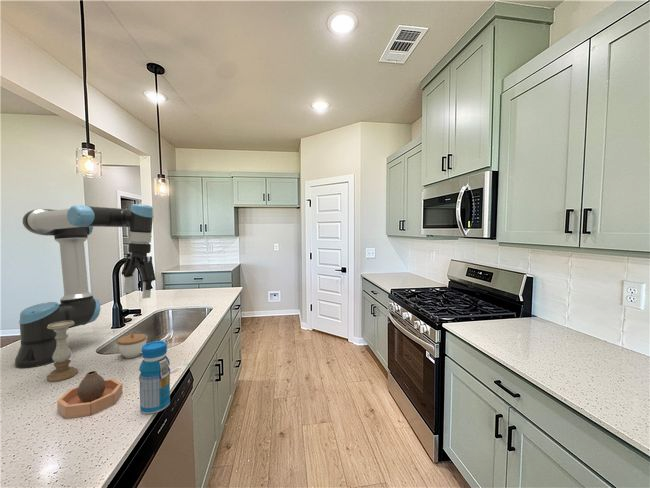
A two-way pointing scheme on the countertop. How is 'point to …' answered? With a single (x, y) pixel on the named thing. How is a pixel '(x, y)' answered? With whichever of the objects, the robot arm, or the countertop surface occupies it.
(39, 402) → the countertop surface
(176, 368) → the fork
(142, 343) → the lidded jar
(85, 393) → the vase
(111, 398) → the terracotta dish
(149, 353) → the beverage bottle
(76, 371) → the candle holder
